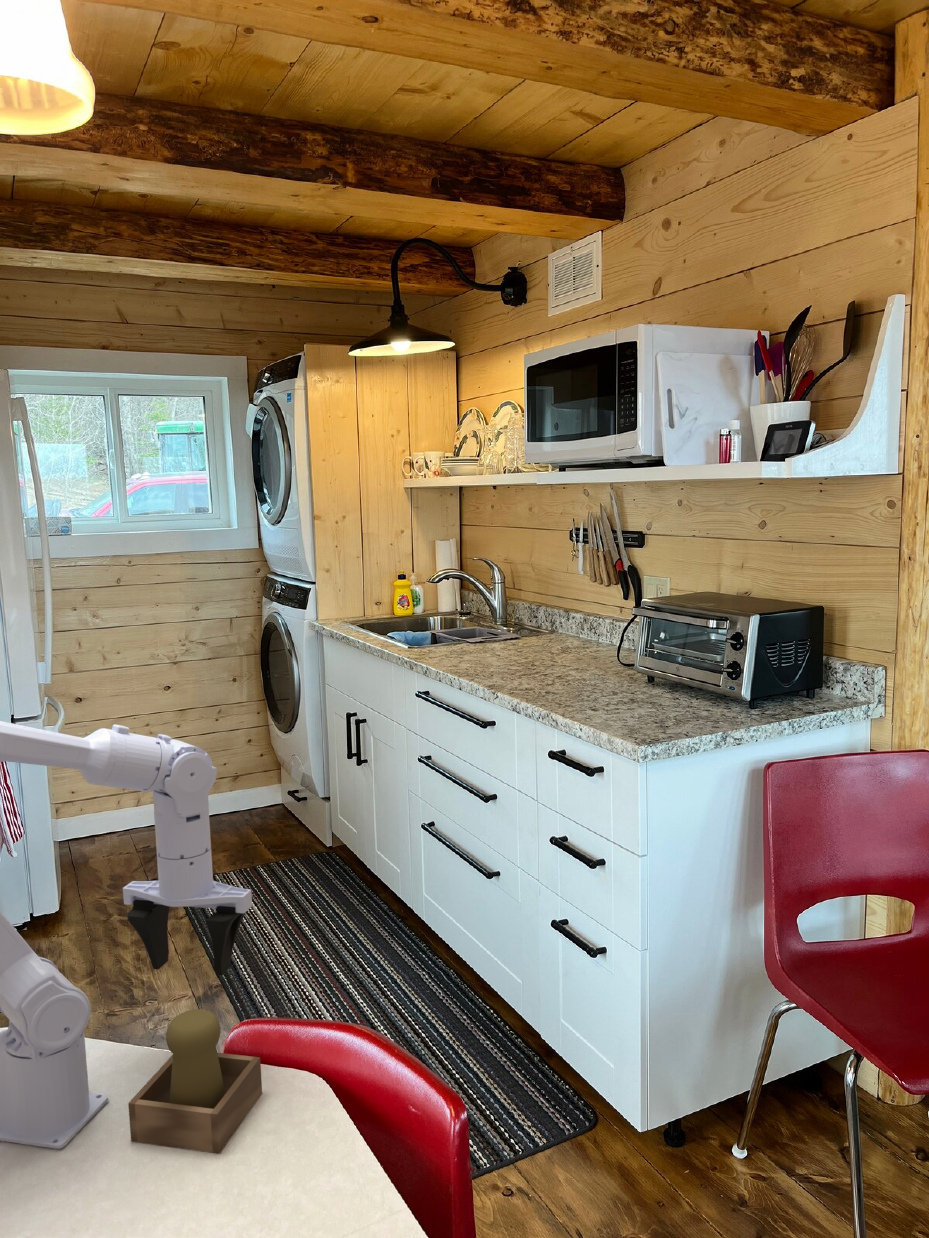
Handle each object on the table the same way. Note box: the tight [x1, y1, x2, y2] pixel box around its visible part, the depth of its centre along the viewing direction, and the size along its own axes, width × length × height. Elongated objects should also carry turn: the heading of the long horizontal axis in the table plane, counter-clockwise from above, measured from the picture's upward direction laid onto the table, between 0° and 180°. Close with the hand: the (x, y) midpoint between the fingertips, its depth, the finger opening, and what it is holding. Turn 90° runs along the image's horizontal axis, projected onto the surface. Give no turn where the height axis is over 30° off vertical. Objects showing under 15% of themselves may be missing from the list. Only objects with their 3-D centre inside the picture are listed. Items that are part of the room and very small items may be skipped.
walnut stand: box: [127, 1052, 263, 1154], centre depth 94 cm, size 9×9×4 cm
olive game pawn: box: [165, 1008, 226, 1109], centre depth 94 cm, size 6×6×11 cm
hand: (191, 967), depth 104 cm, fingers open, 7 cm apart
